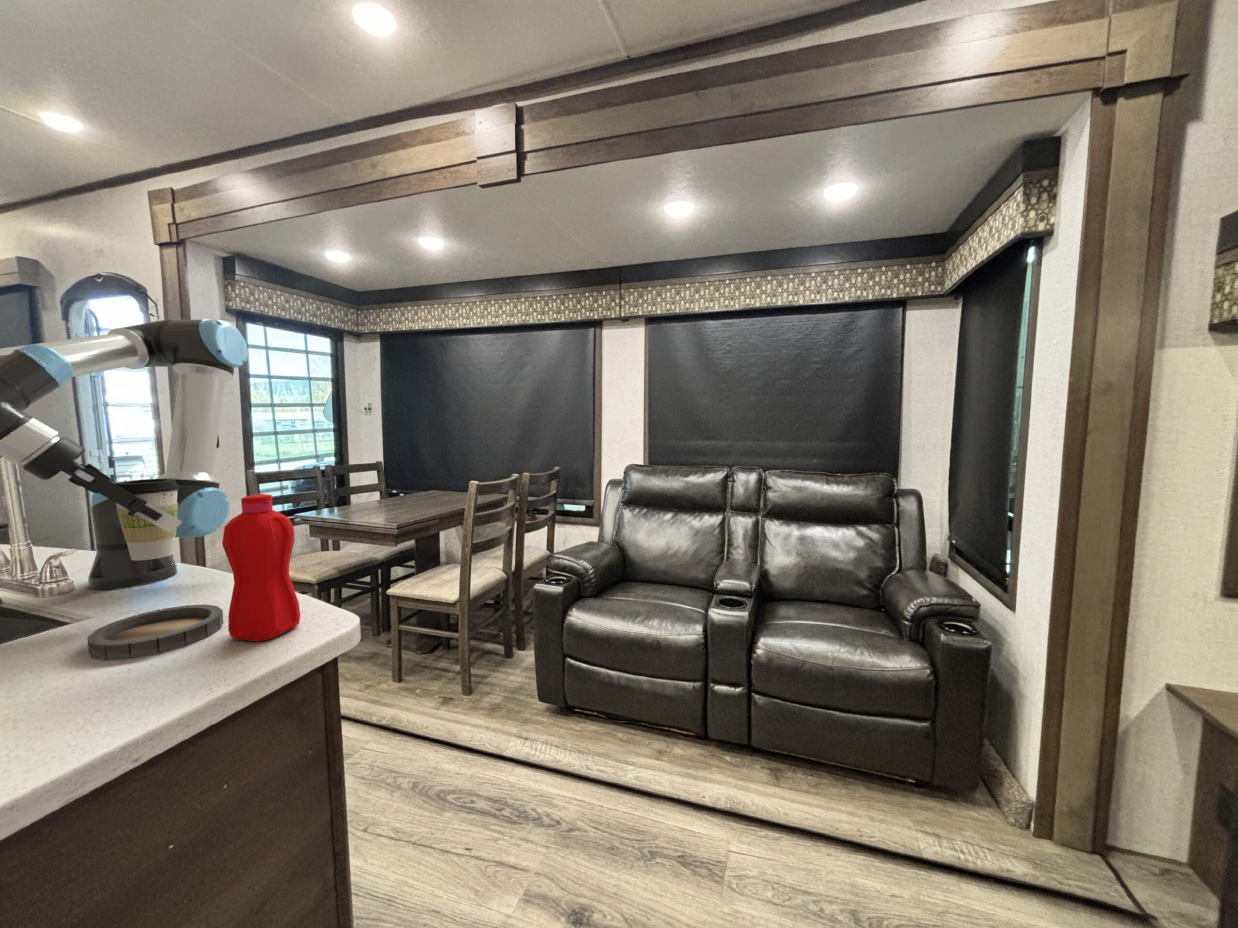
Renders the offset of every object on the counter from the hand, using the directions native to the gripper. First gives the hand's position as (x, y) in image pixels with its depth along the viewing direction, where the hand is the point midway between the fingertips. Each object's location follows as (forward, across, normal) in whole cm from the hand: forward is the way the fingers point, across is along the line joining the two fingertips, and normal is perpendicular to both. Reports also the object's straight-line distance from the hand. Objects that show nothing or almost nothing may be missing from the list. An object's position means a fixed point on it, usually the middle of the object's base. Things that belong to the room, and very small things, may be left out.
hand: (171, 523), depth 98 cm
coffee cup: (+2, 0, -6) cm, 7 cm away
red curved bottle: (+17, +28, -7) cm, 34 cm away
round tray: (+9, +16, -16) cm, 24 cm away
